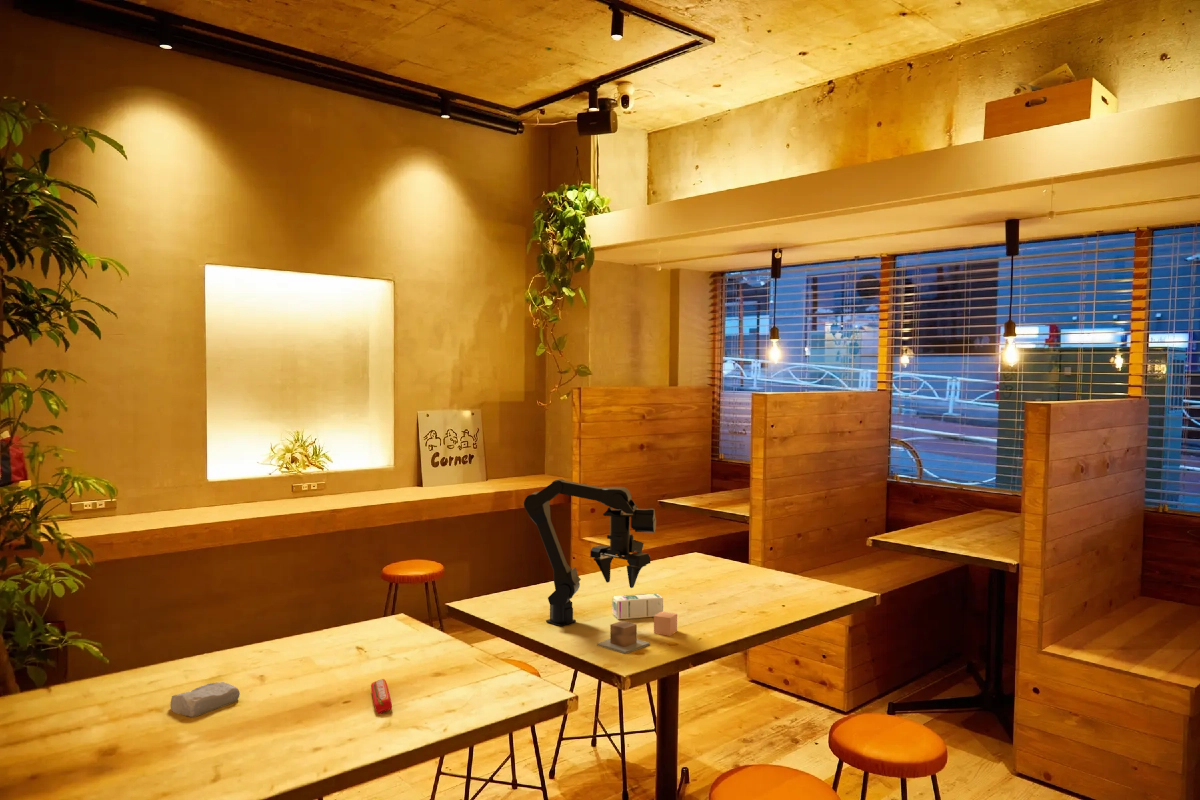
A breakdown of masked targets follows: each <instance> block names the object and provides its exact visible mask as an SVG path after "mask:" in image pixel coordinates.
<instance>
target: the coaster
mask: <svg viewBox="0 0 1200 800" xmlns="http://www.w3.org/2000/svg"><path fill="white" fill-rule="evenodd" d="M596 646H598V647H602V648H605V649H607V650H611V651H613V652H618V653H621V654H623V655H626V654H629V653H632V652H635V651H637V650H640V649H642V648H646V647H648V646H650V642H648V641H645V640H641V639H638V638H637V643H634V644H632V645H629V646H626V647H622V646H619V645H615V644H612V643H610V638H608V639H606V640H603V641H599V642H597V643H596Z"/></svg>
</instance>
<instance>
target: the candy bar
mask: <svg viewBox="0 0 1200 800" xmlns="http://www.w3.org/2000/svg"><path fill="white" fill-rule="evenodd" d="M370 689H371V696H372V700H373V705H374V708H375V709H374V710H375V712H376V713H377V714H383V713H385V712H388V711H390V710H392V708H393V702H392V699H391V694H390V690H389V686H388V684H387V680H386V679H385V678H381V679H379V680H376V681H374V682H371V684H370Z"/></svg>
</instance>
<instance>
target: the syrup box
mask: <svg viewBox="0 0 1200 800" xmlns="http://www.w3.org/2000/svg"><path fill="white" fill-rule="evenodd" d="M611 602H612V604H611V605H612V608H611V609H612V615H613V616H614V617H615V618H616V619H618V620H625V619H626V620H627V619H639V618H640V619H641V618H654V615H656V614H658V613H659V612H661V611H662V612H664V597H662V596H661V595H660V594H658V593H657V592H655V593H640V594H626V595H625V594H624V595H615V596H612V601H611Z"/></svg>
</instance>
